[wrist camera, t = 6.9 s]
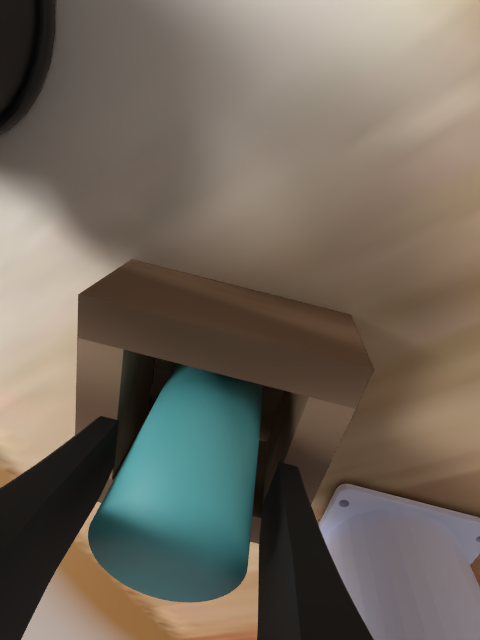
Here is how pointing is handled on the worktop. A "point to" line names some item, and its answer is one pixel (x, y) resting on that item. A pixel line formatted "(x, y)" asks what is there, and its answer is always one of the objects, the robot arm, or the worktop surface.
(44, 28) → the french press
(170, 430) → the peg
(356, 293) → the worktop surface
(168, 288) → the socket block
